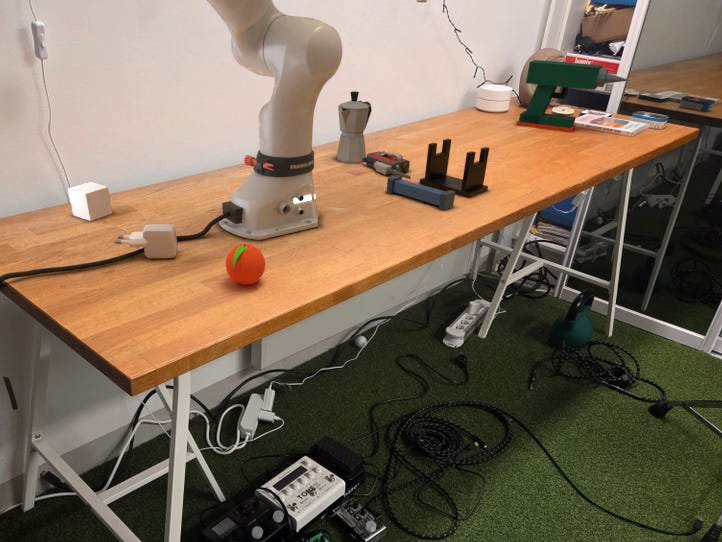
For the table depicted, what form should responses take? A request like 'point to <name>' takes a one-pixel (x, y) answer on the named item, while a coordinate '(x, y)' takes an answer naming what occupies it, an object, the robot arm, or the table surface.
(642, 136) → the table surface
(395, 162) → the walkie-talkie
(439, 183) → the holder
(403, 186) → the handle
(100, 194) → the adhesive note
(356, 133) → the coffee maker
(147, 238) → the power adapter
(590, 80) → the power tool
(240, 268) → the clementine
